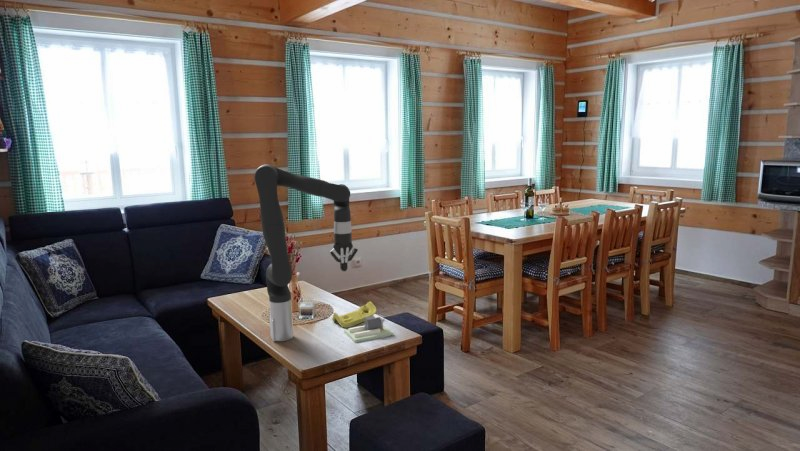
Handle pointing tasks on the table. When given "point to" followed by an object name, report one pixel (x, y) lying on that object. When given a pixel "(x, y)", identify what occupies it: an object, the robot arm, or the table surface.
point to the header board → (367, 333)
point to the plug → (372, 322)
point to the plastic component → (355, 315)
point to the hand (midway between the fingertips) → (343, 270)
